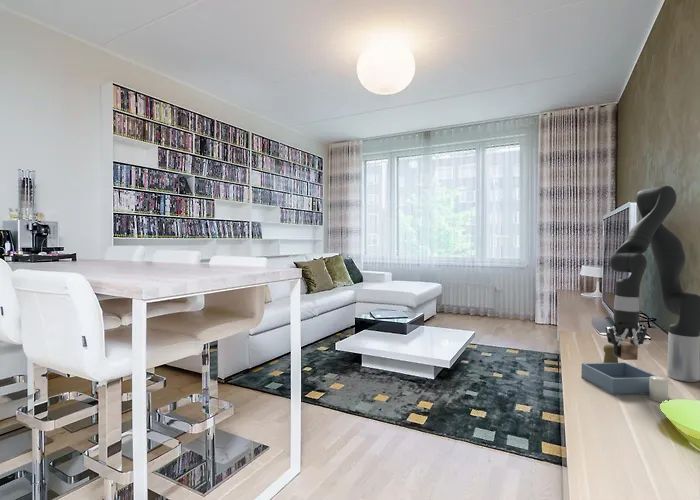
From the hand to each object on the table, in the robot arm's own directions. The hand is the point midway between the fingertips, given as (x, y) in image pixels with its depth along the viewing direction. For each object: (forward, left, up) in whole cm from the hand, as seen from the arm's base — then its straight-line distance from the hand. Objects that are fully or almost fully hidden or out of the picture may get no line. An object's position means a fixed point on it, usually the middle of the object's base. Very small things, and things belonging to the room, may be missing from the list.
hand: (625, 355), depth 139 cm
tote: (-1, -4, -12) cm, 13 cm away
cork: (-8, -17, -12) cm, 23 cm away
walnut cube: (0, 0, -1) cm, 1 cm away
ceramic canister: (-5, +9, -12) cm, 16 cm away
